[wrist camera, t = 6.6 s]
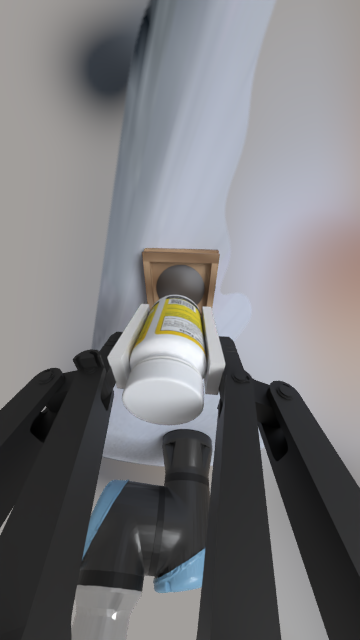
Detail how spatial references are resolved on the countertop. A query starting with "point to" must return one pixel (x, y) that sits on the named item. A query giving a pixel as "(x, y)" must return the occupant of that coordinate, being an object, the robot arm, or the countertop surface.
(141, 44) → the countertop surface
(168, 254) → the dock board
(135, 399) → the supplement bottle
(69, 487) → the robot arm
